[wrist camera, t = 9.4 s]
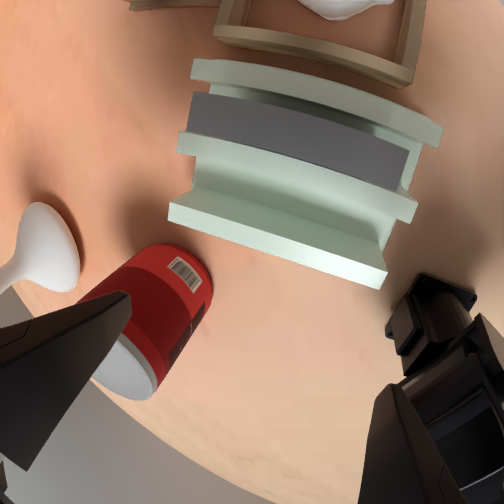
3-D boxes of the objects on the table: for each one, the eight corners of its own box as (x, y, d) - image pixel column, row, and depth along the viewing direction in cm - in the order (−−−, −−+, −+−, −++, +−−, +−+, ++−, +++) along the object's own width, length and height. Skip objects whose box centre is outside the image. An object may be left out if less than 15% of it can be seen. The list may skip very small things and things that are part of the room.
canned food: (135, 233, 24) (46, 298, 15) (216, 249, 23) (140, 341, 13) (144, 301, 28) (78, 374, 18) (215, 322, 26) (161, 415, 17)
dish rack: (425, 118, 14) (455, 118, 10) (372, 262, 20) (381, 301, 15) (222, 61, 16) (188, 46, 12) (194, 205, 21) (160, 228, 17)
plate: (375, 138, 15) (409, 150, 8) (368, 162, 16) (395, 192, 9) (250, 102, 16) (193, 91, 9) (245, 125, 17) (186, 131, 10)
